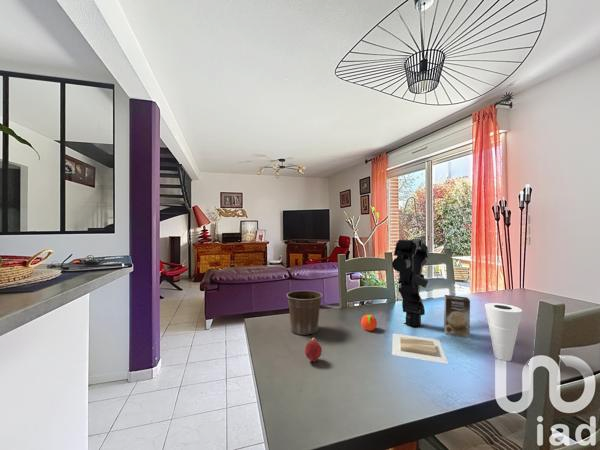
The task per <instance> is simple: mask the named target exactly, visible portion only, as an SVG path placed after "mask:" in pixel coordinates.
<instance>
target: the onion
mask: <svg viewBox="0 0 600 450" xmlns="http://www.w3.org/2000/svg"><path fill="white" fill-rule="evenodd" d="M322 350H323V349H322V346H321V344H320V343H319V342H318V341H316V338H315V337H312V338H311V340H309V341H308V342H307V343H306V345H305V347H304V354H305V357H306V358H307V359H308V360H309V361H311V362H316V361H317V360H318V359H319V358H321V356H322Z"/></svg>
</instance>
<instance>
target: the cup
mask: <svg viewBox="0 0 600 450" xmlns="http://www.w3.org/2000/svg"><path fill="white" fill-rule="evenodd" d="M484 308H485V309H484V310H485V315H486V320H487V324H488V329H489V333H490V339H491V344H492V345H491V346H492V349H493V355H494V357H495V358H496V359H498V360H500V361H505V362H510V361H512V359H513V354H514V349H515V343H516V340H517V335H518V330H519V326H520V323H521V322H520V321H521V317H522V314H523V313H522V312H523V310H522V309H521V308H520V307H517V306H515V305H511V304H507V303H501V302H486V303H485V304H484Z"/></svg>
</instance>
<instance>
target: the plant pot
mask: <svg viewBox="0 0 600 450" xmlns="http://www.w3.org/2000/svg"><path fill="white" fill-rule="evenodd" d="M286 297H287V305H288V308H289V320H290V330H291V332H292V333H294V334H295V335H300V336H309V334H311V335H313V334H316V333H317V332H318V330H319V319H320V308H321V303H322V297H323V293H321V292H318V291H314V290H294V291H290V292H287V293H286Z"/></svg>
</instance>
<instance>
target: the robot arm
mask: <svg viewBox="0 0 600 450" xmlns="http://www.w3.org/2000/svg"><path fill="white" fill-rule="evenodd" d="M393 256H396V258H394V259H393V260H392V263H391V266H392V268H393V270H395V271H396V272H398V293H399V294H400V296H401V298H402V300H401V306H402V313H405V322H403V324H404V325H405V326H408V327H410V328H413V329H417V328H422V327H424V324H422V316H425V314H426V312H425V307H424V306H425V305H424V302H423V299H422V297H421V295H420V290H421V287H422V288H426V287H427V285H428V283H429V280H428V279H427V278H426V277H425V275H424V274H423V266H425V264H427V261H428V258H429V256H430V252H429V248H428V246H427V245H426V244H425V243H424V242H423V239H421V238H412V239H411V238H410V239H398V240H397V241H396V243H395V249H394V253H393Z"/></svg>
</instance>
